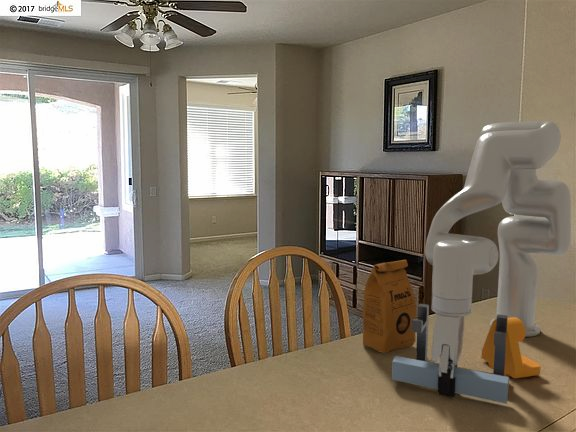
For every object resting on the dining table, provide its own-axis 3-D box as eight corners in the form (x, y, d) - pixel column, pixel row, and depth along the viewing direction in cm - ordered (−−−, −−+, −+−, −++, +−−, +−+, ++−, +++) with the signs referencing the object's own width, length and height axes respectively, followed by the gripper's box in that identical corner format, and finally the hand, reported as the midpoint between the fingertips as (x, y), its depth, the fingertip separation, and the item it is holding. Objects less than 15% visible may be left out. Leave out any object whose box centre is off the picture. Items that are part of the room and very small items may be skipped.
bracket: (542, 377, 104) (545, 324, 103) (514, 382, 102) (517, 328, 101) (506, 357, 115) (509, 309, 113) (481, 361, 113) (483, 312, 111)
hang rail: (395, 373, 103) (395, 355, 103) (507, 396, 93) (508, 377, 93) (391, 379, 100) (392, 361, 100) (506, 403, 91) (507, 383, 90)
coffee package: (421, 348, 120) (424, 262, 117) (382, 358, 114) (385, 268, 111) (394, 335, 129) (396, 255, 126) (357, 344, 123) (358, 260, 120)
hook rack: (414, 364, 111) (416, 301, 109) (508, 383, 102) (513, 314, 100) (405, 379, 103) (407, 312, 101) (507, 401, 94) (511, 327, 92)
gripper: (438, 290, 104) (435, 371, 106) (423, 312, 89) (420, 405, 91) (475, 295, 100) (471, 378, 103) (466, 318, 86) (461, 415, 88)
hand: (447, 390), depth 97 cm, fingers closed on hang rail, 3 cm apart
